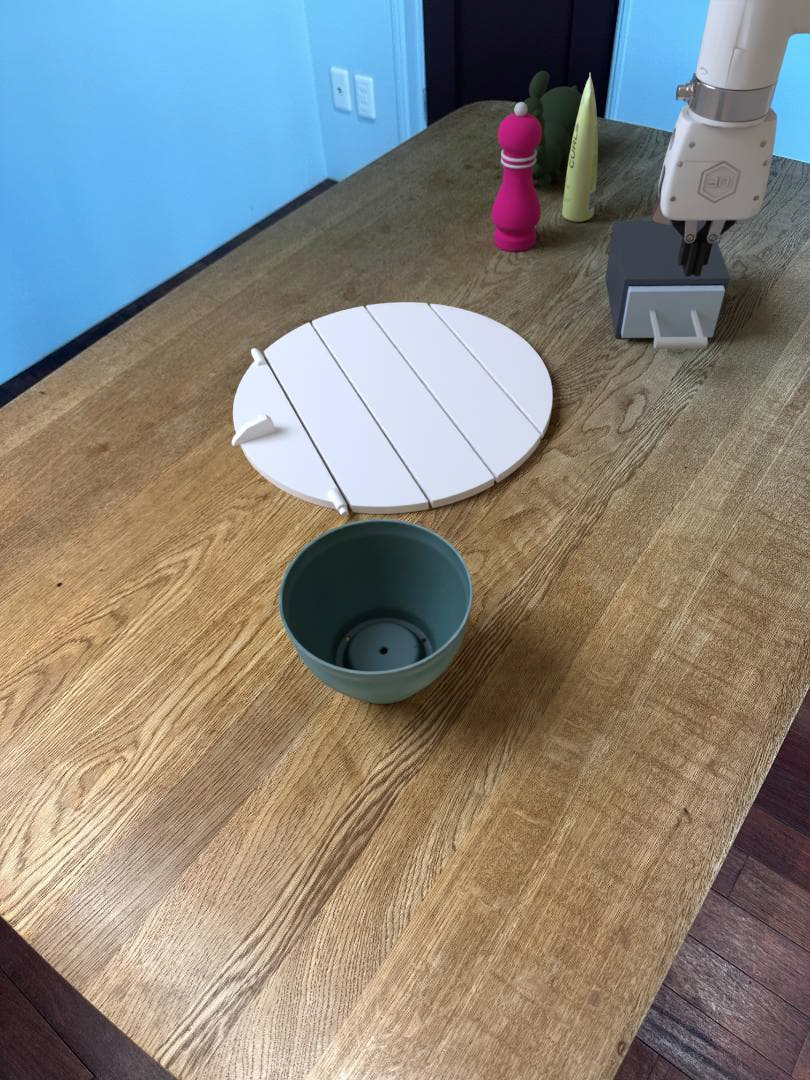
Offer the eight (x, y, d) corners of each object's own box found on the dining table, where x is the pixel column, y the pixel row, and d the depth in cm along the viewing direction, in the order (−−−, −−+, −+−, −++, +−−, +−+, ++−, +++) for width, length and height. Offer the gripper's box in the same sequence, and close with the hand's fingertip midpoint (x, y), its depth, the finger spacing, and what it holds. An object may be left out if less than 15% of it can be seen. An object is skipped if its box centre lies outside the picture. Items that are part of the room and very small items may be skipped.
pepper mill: (482, 246, 124) (484, 107, 109) (506, 225, 127) (511, 88, 112) (523, 258, 121) (531, 117, 106) (547, 236, 124) (558, 97, 109)
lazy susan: (286, 564, 84) (280, 543, 81) (193, 362, 108) (186, 340, 106) (616, 443, 93) (620, 420, 90) (462, 281, 117) (462, 260, 115)
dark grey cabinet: (714, 338, 105) (730, 278, 99) (615, 338, 106) (624, 279, 100) (696, 277, 115) (709, 219, 108) (605, 278, 116) (613, 220, 109)
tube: (552, 213, 129) (563, 80, 115) (576, 203, 131) (590, 70, 116) (576, 226, 126) (590, 91, 111) (601, 216, 128) (618, 81, 113)
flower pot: (485, 605, 79) (487, 530, 71) (454, 755, 69) (453, 689, 61) (327, 581, 82) (311, 507, 74) (275, 722, 72) (250, 654, 64)
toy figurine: (552, 213, 132) (597, 137, 145) (559, 93, 117) (609, 20, 130) (498, 205, 135) (547, 130, 148) (498, 87, 120) (552, 15, 133)
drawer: (723, 372, 99) (736, 324, 94) (627, 372, 100) (636, 325, 95) (695, 280, 113) (706, 234, 107) (612, 281, 114) (618, 235, 108)
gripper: (657, 114, 76) (626, 288, 90) (822, 110, 75) (765, 288, 89) (647, 84, 81) (619, 253, 95) (802, 80, 80) (751, 252, 94)
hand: (690, 269), depth 92 cm, fingers closed
